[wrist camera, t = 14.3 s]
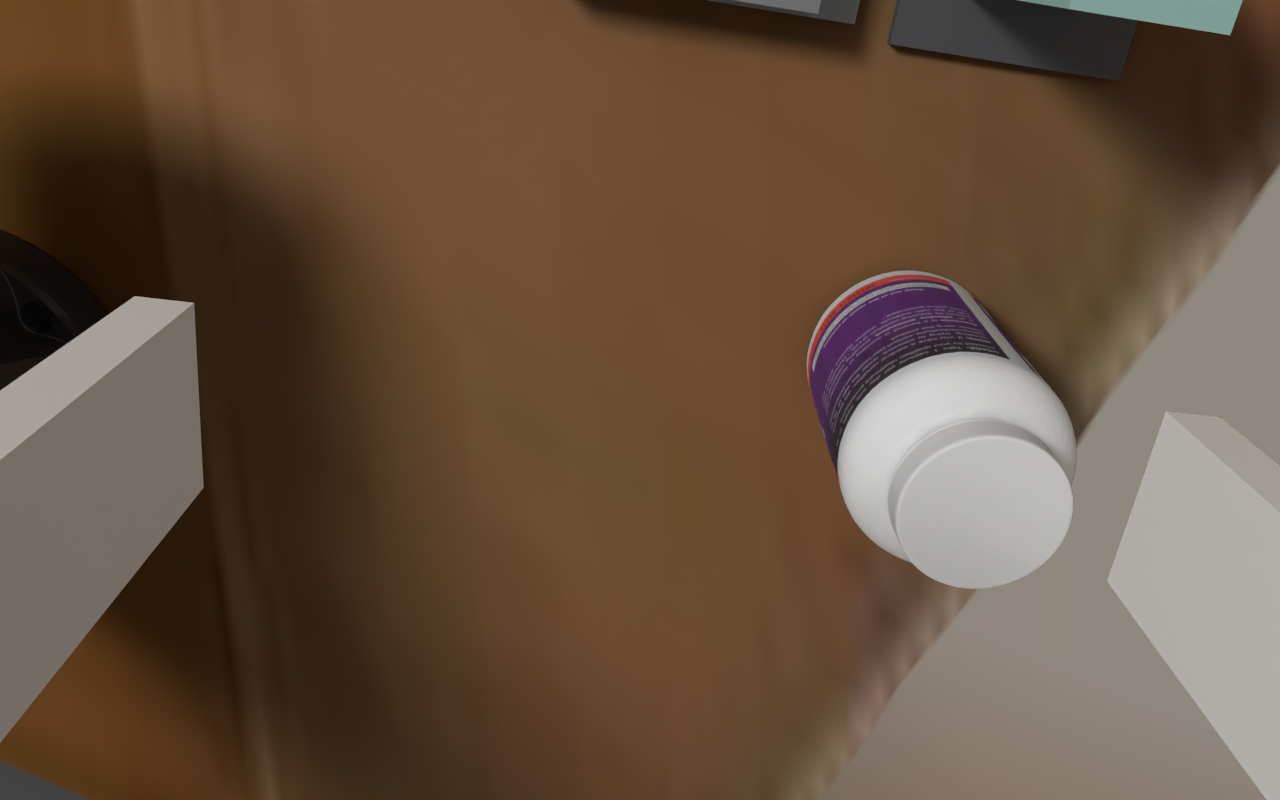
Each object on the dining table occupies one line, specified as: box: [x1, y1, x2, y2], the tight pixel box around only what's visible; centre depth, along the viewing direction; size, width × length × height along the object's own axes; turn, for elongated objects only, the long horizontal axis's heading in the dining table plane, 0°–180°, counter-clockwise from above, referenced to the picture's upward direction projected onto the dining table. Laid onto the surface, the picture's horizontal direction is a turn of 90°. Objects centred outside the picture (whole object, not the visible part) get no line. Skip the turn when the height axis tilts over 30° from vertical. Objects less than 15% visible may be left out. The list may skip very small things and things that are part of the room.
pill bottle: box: [807, 271, 1077, 589], centre depth 40 cm, size 8×8×14 cm
